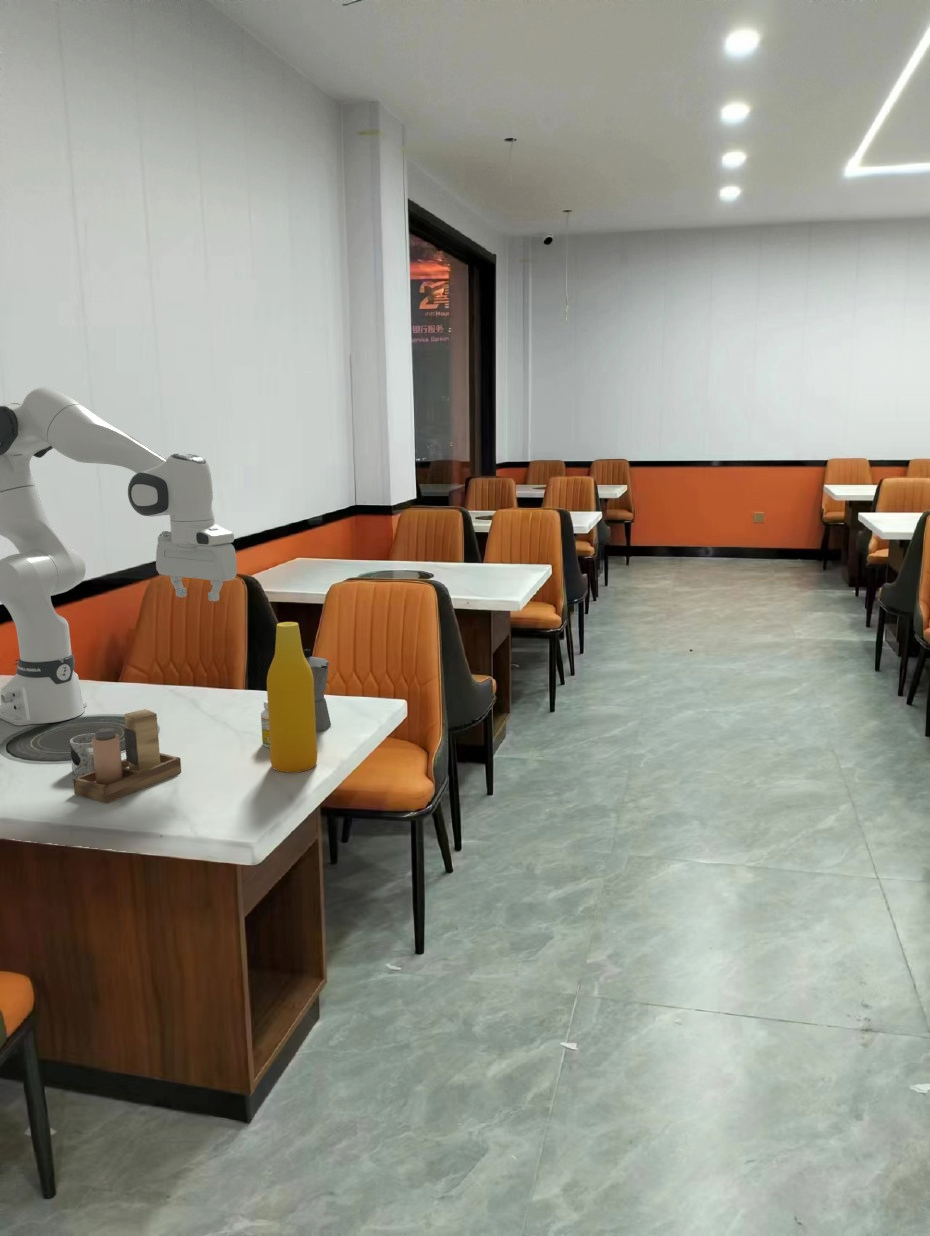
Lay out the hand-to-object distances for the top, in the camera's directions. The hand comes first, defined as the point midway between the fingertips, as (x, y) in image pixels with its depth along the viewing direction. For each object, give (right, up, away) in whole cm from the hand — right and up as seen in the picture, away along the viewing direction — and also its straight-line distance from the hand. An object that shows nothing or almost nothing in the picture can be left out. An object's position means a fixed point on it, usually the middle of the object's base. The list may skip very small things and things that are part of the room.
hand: (197, 598), depth 209 cm
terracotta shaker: (-11, -35, -22) cm, 43 cm away
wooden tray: (-8, -36, -18) cm, 41 cm away
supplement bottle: (+16, -31, +3) cm, 35 cm away
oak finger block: (-6, -33, -15) cm, 37 cm away
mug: (-18, -35, -13) cm, 41 cm away
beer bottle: (+22, -34, -9) cm, 41 cm away
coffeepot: (+21, -29, +15) cm, 38 cm away
